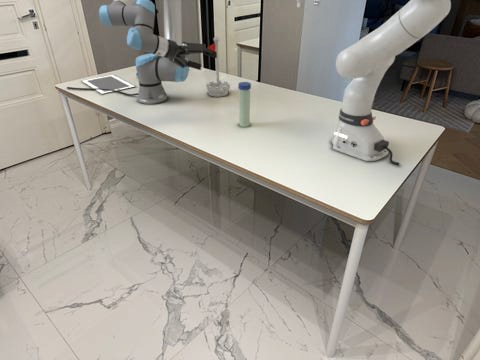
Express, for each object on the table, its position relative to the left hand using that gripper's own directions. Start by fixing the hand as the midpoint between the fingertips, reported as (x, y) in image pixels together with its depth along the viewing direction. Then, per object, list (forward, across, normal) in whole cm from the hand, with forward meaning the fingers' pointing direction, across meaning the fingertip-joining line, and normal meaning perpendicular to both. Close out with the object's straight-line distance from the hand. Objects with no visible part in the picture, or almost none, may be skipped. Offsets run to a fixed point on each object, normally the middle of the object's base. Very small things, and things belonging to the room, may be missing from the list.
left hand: (208, 61), depth 156 cm
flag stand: (+24, -27, -1) cm, 36 cm away
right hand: (+19, +44, +10) cm, 49 cm away
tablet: (-22, -79, +13) cm, 83 cm away
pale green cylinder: (+14, +7, -30) cm, 34 cm away
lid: (+8, +17, -16) cm, 24 cm away
